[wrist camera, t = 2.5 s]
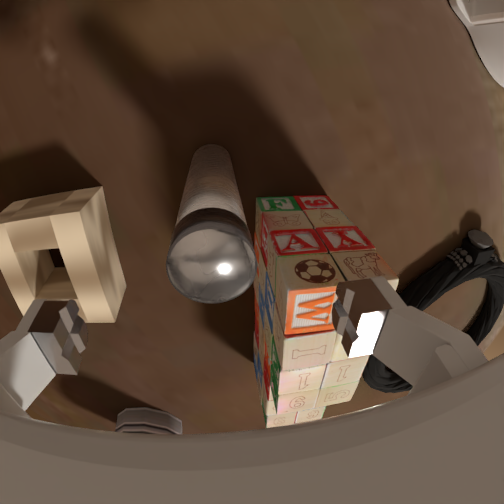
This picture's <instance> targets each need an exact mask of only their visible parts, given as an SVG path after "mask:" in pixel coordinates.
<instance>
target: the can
mask: <svg viewBox="0 0 504 504" xmlns="http://www.w3.org/2000/svg"><path fill="white" fill-rule="evenodd" d="M115 432H123V433H139V434H182V422H181V420H180V419H178V418H176V417H175V416H173V415H171V414H170V413H168V412H165V411H160V410H156V409H151V408H147V407H140V408H126V409H124V410H123V411H122V412H120V413H119V414H118V416H117V423H116V431H115Z"/></svg>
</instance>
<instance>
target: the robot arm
mask: <svg viewBox="0 0 504 504" xmlns="http://www.w3.org/2000/svg"><path fill="white" fill-rule="evenodd" d="M449 2H450V5H451V7H452V9H453V10H454V12H455V13H456V14H457V16H458V17H459V18H460V20H461V21H462V22H463V23H464V25H465V26H466V27H467V29H468V31H469V33H470V35H471V37H472V40H473V42H474V45H475V47H476V49H477V52H478V54H479V56H480V58H481V60H482V62H483V63H484V65H485V67H486V68H487V70H488V71H489V73H490V74H491V76H492V77H493V78H494V79H495V80H496V81H497V82H498V83H499V84H500V85H501V86H502V87H504V0H449ZM335 293H336V295H337V297H338V299H337V300H336V301H335V302H334V303H333V307H332V322H333V326H334V328H335V331H336V332H337V333H338V334H340V335H341V336H343V337H342V341H341V344H342V346H343V348H344V350H345V352H346V354H347V356H348V358H351V357H356V356H362V355H367V354H372V353H373V354H372V355H373V356H375V357H376V358H377V359H379V360H380V361H381V362H382V363H384V364H385V365H386V366H388V367H389V368H390V369H392V370H393V371H394V372H395V373H397V374H398V375H399V376H401V377H402V378H403V379H405V380H406V381H407V382H408V383H410V384H411V385H412V386H413V387H412V389H411V390H410V392H409V393H408V395H407V396H404V397H402V398H399V399H395V400H392V401H389V402H386V403H383V404H379V405H376V406H373V407H369V408H365V409H362V410H358V411H354V412H350V413H346V414H342V415H338V416H333V417H329V418H324V419H320V420H315V421H309V422H304V423H298V424H293V425H286V426H280V427H273V428H265V429H257V430H248V431H238V432H225V433H209V434H139V433H123V432H112V431H102V430H93V429H86V428H78V427H72V426H66V425H60V424H55V423H50V422H45V421H40V420H35V419H32V418H31V417H30V416H29V415H28V414H27V413H26V412H25V410H26V409H27V408H28V407H29V406H30V404H31V403H32V402H33V401H34V400H35V398H36V397H37V396H38V395H39V394H40V393H41V391H42V390H43V389H44V388H45V387H46V386H47V385H48V383H49V382H50V381H51V380H52V379H53V378H54V377H55V375H56V374H72V375H77V374H78V371H79V367H80V364H81V361H82V357H81V355H80V353H81V352H82V351H83V350H84V349H85V348H86V346H87V342H88V330H87V326H86V324H85V321H84V320H83V319H82V318H81V317H80V316H79V315H78V312H79V307H78V305H77V303H76V301H75V300H73V299H35V300H33V302H32V303H31V305H30V307H29V308H28V310H27V312H26V313H25V315H24V317H23V318H22V320H21V322H20V324H19V325H18V327H17V329H16V331H12V332H10V333H9V334H8V335H6V336H5V337H4V338H2V339H1V340H0V504H504V353H503V354H501V355H499V356H498V357H496V358H494V359H492V360H490V361H488V360H487V359H486V357H485V356H484V354H483V353H482V352H481V350H480V349H479V348H478V346H477V345H476V344H475V342H474V341H473V340H472V338H471V337H470V336H469V335H468V334H466V333H464V332H462V331H460V330H458V329H456V328H454V327H452V326H450V325H448V324H446V323H444V322H442V321H440V320H438V319H436V318H434V317H433V316H431V315H429V314H427V313H425V312H423V311H421V310H419V309H417V308H415V307H413V306H407V305H406V304H405V303H404V301H403V300H402V299H401V298H400V296H399V295H398V294H397V292H396V291H395V290H394V289H393V287H392V286H391V285H390V284H389V282H388V281H387V280H386V279H385V278H384V277H382V276H377V277H371V278H367V279H359V280H351V281H342V282H339V283H338V285H337V287H336V292H335ZM55 373H56V374H55Z"/></svg>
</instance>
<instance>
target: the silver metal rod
mask: <svg viewBox="0 0 504 504" xmlns="http://www.w3.org/2000/svg"><path fill="white" fill-rule="evenodd" d="M166 270H167V275H168V278H169V280H170V282H171V283H172V285H173V286H174V288H175V289H176V290H177V291H178V292H179V293H181V294H182V295H184V296H185V297H187V298H189V299H191V300H194V301H197V302H201V303H222V302H226V301H229V300H232V299H234V298H236V297H238V296H239V295H241V294H242V293H244V292H245V291H246V290H247V289H248V288H249V287H250V285H251V284H252V282H253V281H254V278H255V276H256V272H257V258H256V254H255V250H254V246H253V242H252V238H251V234H250V231H249V229H248V227H247V223H246V219H245V215H244V211H243V207H242V203H241V199H240V195H239V190H238V186H237V182H236V178H235V174H234V170H233V166H232V162H231V158H230V155H229V153H228V151H227V150H226V149H225V148H224V147H222V146H220V145H217V144H206V145H203V146H201V147H200V148H198V149H197V150H196V152H195V153H194V155H193V157H192V161H191V165H190V168H189V172H188V176H187V180H186V184H185V188H184V192H183V196H182V200H181V204H180V208H179V212H178V217H177V221H176V226H175V229H174V231H173V233H172V238H171V242H170V247H169V251H168V256H167V261H166Z"/></svg>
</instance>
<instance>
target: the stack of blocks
mask: <svg viewBox="0 0 504 504" xmlns="http://www.w3.org/2000/svg"><path fill="white" fill-rule="evenodd" d="M254 250H255V254H256V258H257V272H256V276H255V278H254V290H255V331H254V367H255V372H256V378H257V385H258V391H259V397H260V402H261V404H262V407H263V413H264V418H265V423H266V428H269V427H276V426H283V425H291V424H294V423H300V422H306V421H311V420H316V419H321V418H322V416H323V413H324V411H325V408H326V406H327V405H332V404H337V403H341V402H346V401H350V400H351V398H352V396H353V394H354V391H355V389H356V387H357V385H358V383H359V379H360V377H361V375H362V373H363V370H364V368H365V366H366V363H367V361H368V358H369V355H370V354H367V355H362V356H356V357H351V358H348V356H347V354H346V352H345V350H344V348H343V346H342V344H341V341H342V337H343V336H341V335H340V334H338V333H337V332H336V331H335V328H334V326H333V322H332V307H333V303H334V302H335V301H336V300H337V299H338V297H337V295H336V293H335V292H336V287H337V285H338V283H339V282H342V281H351V280H359V279H367V278H371V277H377V276H382V277H384V278H385V279H386V280H387V281H388V282H389V284H390V285H391V286H392V287H393V289H394V290H395V291H396V289H397V286H398V282H399V279H398V277H397V276H396V274H395V273H394V272H393V270H392V269H391V268H390V267H389V266H388V264H387V263H386V262H385V261H384V260H383V259H382V257H381V256H380V255H379V254H378V253H377V252H376V251H375V247H374V245H373V244H372V243H371V242H370V241H369V240H368V239H367V237H366V236H365V235H364V234H363V233H362V232H361V231H360V230H359V229H358V227H356V226H354V224H353V223H352V222H351V221H350V220H349V219H348V218H347V217H346V216H345V215H344V213H343V212H342V211H341V210H340V209H339V208H338V206H337V205H336V204H335V203H334V202H333V201H332V200H331V199H330V198H329V197H328V196H326V195H314V196H293V197H292V196H291V197H257V198H256V230H255V233H254Z"/></svg>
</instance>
